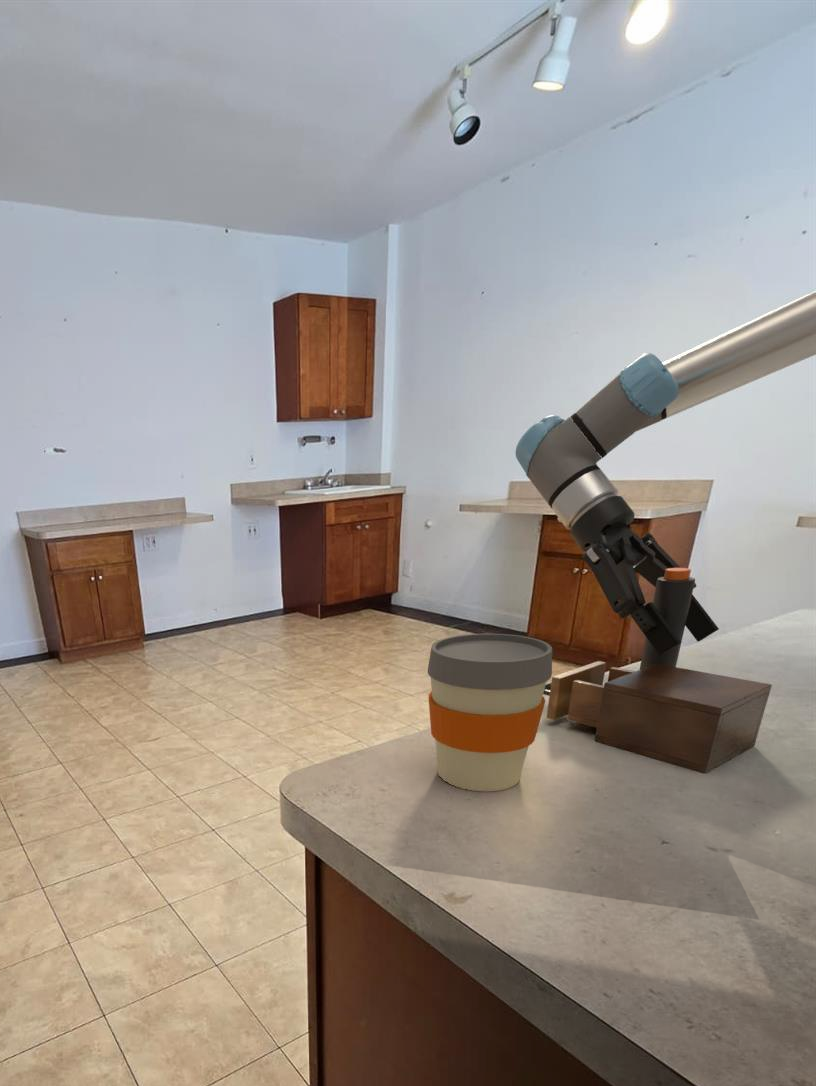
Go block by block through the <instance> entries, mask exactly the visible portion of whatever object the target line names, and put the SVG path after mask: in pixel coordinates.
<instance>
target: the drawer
mask: <svg viewBox="0 0 816 1086" xmlns="http://www.w3.org/2000/svg"><path fill="white" fill-rule="evenodd" d="M606 668H607V662H604V661H600V660H597V661H594V662H592V663H591V662H590V663H589V664H586V665H583V666H580V667H578V668H574V669H570V670H568V671H565V672H563V673H559V674H557V675H554V676H553V675H552V676H551V681H547V682H546V685H545V689H544V693H543V696H548V704H547V711H546V719H549V720H552V721H556V720H559V719H561V718H564V717H566V716H567V718H566V720H567V721H571V722H574V723H577V724H581V725H584V726H589V727H592V728H596V729H597V724H598V718H599V712H600V707H601V701H602V695H603V690H604V679H605V675H606V673H605V672H606ZM636 671H637V670H631V669H625V668H621V667H615V666H612V667H610V668H609V671H608V678H607V682H609V681H611V680H614V679H617V678H619V677H622V676H625V675H628V674H630V673H633V672H636Z"/></svg>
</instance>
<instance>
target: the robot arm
mask: <svg viewBox="0 0 816 1086" xmlns="http://www.w3.org/2000/svg"><path fill="white" fill-rule="evenodd" d="M813 356H816V290H813V291H812V292H809V293H808V294H805V295H804V296H801V297H799V298H797V299H795V300H793V301H791V302H789V303H787V304H785V305H783V306H780V307H778V308H776V309H774V310H772V311H770V312H768V313H765V314H764V315H761V316H759V317H757V318H754V319H753V320H751V321H749V322H747V323H744V324H742V325H740V326H738V327H736V328H733V329H731V330H729V331H727V332H725V333H723V334H721V335H718V336H717V337H714V338H713V339H710V340H708V341H706V342H703V343H702V344H700V345H698V346H695V347H693V348H692V349H689V350H687V351H685V352H683V353H681V354H678V355H677V356H674V357H672V358H670V359H668V360H666V361H661V359H659V357H657V356H656V355H655V354H654V353H651V352H647V353H643V354H641V355H640V356H639V357H637V358H636V359H635V360H634V361H633V362H632V363H630V364H629V365H627V366H626V367H624V368H623V369H622V370H621V371H620V372H619V373H618V374H617V375H616V376H615V377H613V378H612V379H611V380H610V381H609V382H608V383H607V384H606V385H604V386H603V388H601V389H600V390H599V391H597V392H596V394H594V396H592V397H591V398H590V399H589V400H588V401H587V402H586V403H584V405H582V406H581V407H580V408H579V409H578V410H577V411H575V412H574V413H572V414H571V415H570V416H568V417H567V418H566V419H564V418H562V417H561V416H559V415H557V414H555V415H554V414H553V415H552V414H551V415H547V416H546V417H544V418H542V419H541V420H540V421H538V422H536V423H534V424H533V425H531V426H530V427H529V428H528V429H527V430H526V431H525V432H524V434H523V435H522V436H521V437H520V439H519V441H518V442H517V444H516V447H515V451H514V452H515V457H516V461H517V462H518V463H519V465H520V466H521V468H522V469H523V471H524V473H525V476H526V477H527V478H528V479H529V480H530V482H531V483H532V485H533V486H534V487H535V489H536V490H537V491H538V493H539V494H540V495H541V497H542V498H543V499H544V500H545V502H546V503H547V504H548V506H549V507H550V508H551V510H553V512H554V514H555V515H556V517H557V521H558V522H559V523H562V525H563V526H564V527H565V529H566V530H570V532H569V535H570V536H571V538H572V539H573V540H574V541H575V543H576V545H577V546H578V547H579V549H580V550H581V551H582V552H584V553H583V554H582V555H581V558H582V559H583V561H584V563H586V565H587V566H588V567H589V568H590V569H591V571H592V573H593V575H594V577H595V578H596V581H597V583H598V584H599V586H600V589H601V590H602V591H603V594H604V596H605V598H606V600H607V601H608V604H609V605H610V607H611V609H612V611H613V612H614V613H615V614H618V616H619V618H621V619H622V620H624V619H626V618H628V617H629V616H630V617H631V618H632V620H633V621H634V622H635V624H636V625H637V626H638V628H639V629H640V631H641V632H642V633H643V635H644V636H645V638H646V637H647V639H648V640H649V641H650V643H651V644H652V646H653V647H654V648H655V650H656V651H657V652H658V654H659V655H663V654H664V653H666V652H667V651H669V650H671V649H672V648H674V647H675V646H677V645H678V644H680V643H681V644H682V643H683V641H682V642H681V641H680V640H679V638H678V637H677V636H676V634H675V633H674V632H673V630H672V629H671V628H670V626H669V625H668V624H667V622H666V621H665V619H664V618H663V617H662V615H661V614H660V613H659V611H658V610H657V609H656V607H655V606H654V605H653V601H650V602H647V603H646V598H645V596H644V593H643V589H642V587H641V585H640V582H639V579H638V577H637V574H639V575H640V576H641V577H642V578H643V579H644V580H646V581H647V582H648V583H649V584H651V585H652V586H653V587H654V588H656V584H657V579H658V578H660V577H664V575H665V570H666V569H668V568H682V567H681V566H680V565H679V564H678V563H677V562H676V561H675V560H674V559H673V558H672V557H671V556H670V554H668V552H667V551H665V550H664V548H662V546H660V545H659V542H658V541H657V540H656V538H655V537H654V535H653V534H651V532H647V533H645V534H644V535H643V536H642V537H640V536H639V534H637V533H636V532H635V531H633V529H631V524H632V522H633V521H634V519H635V516H636V515H635V512H634V510H633V509H632V508H631V507H630V505H629V504H628V502H627V501H626V500H625V498H624V497H623V496H622V495H618V494H619V491H618V489H617V488H616V486H615V485H614V484H613V482H612V481H611V480H610V479H609V478H608V476H607V475H606V474H605V472H604V471H603V470H602V469H601V468H600V466H599V465H598V464H597V463H598V462H599V461H601V460H602V459H603V458H605V457H606V456H607V455H608V454H609V453H610V452H612V451H613V450H614V449H616V448H617V447H618V446H619V445H621V444H622V443H624V442H625V441H626V440H627V439H628V438H630V437H631V436H633V435H634V434H635V433H636V432H639V431H641V430H643V429H645V428H648V427H649V426H652V425H655V424H658V423H659V422H661V421H663V420H665V419H668V418H671V417H673V416H675V415H678V414H680V413H683V412H685V411H687V410H689V409H692V408H694V407H697V406H698V405H701V404H703V403H705V402H708V401H710V400H713V399H715V398H717V397H719V396H722V395H724V394H727V393H729V392H731V391H734V390H736V389H738V388H741V387H743V386H746V385H747V384H750V383H752V382H755V381H757V380H760V379H762V378H764V377H767V376H769V375H771V374H775V373H776V372H778V371H781V370H783V369H785V368H788V367H790V366H793V365H795V364H797V363H800V362H801V361H805V360H806V359H809V358H812V357H813ZM696 587H697V584H696V582H695V583H694V588H693V590H694V589H696ZM685 628H686V629H687V630H688V631H689V632H690V634H691V635H692V636H693V638H694V640H696V642H701V641H703V640H704V639H706V638H708V637H709V636H710V635H712V634H714V633H715V632H717V631H719V630H720V628H719V627H718V625H717V624H716V623H715V622H714V620H713V619H712V618H711V616H710V615H709V614H708V612H707V611H706V610H705V609H704V607H703V606H702V605H701V603H700V602H699V601H698V599H697V598H696V597H695V596H694V594H693V593H692V597H691V601H690V606H689V610H688V615H687V619H686V624H685Z"/></svg>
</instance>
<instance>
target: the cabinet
mask: <svg viewBox="0 0 816 1086" xmlns="http://www.w3.org/2000/svg"><path fill="white" fill-rule="evenodd" d="M635 671H636V672H633V673H630V674H628V675H625V676H622V677H619V678H617V679H614V680H611V681H609V682H608V681H606V682H604V683H603V686H604V690H603V695H602V701H601V707H600V712H599V718H598V724H597V728H596V729H595V730H596V731H595V736H594V741H595V742H598V743H601V744H605V745H608V746H611V747H615V748H617V749H620V750H621V749H622V750H625V751H627V752H631V753H634V754H638V755H642V756H645V757H647V758H652V759H655V760H658V761H662V762H666V763H668V764H672V765H674V766H675V765H676V766H678V767H681V768H685V769H689V770H693V771H696V772H699V773H703V774H706V773H708V772H709V771H712V770H714V769H716V768H717V767H720V766H721V765H722V764H724V763H726V762H728V761H730V760H732V759H733V758H735V757H737V756H739V755H741V754H742V753H744V752H746V751H748V750H750V749H751V748H753V747H755V746H756V741H757V739H758V734H759V731H760V727H761V725H762V721H763V717H764V714H765V710H766V708H767V705H768V704H767V703H768V700H769V696H770V693H771V690H772V686H773V684H771V683H765V682H760V681H753V680H748V679H743V678H738V677H732V676H727V675H721V674H716V673H712V672H711V673H710V672H705V671H700V670H693V669H688V668H683V667H677V666H676V667H672V666H666V665H661V664H654V665H652V666H649V667H646V668H644V669H641V670H640V669H638V670H635Z"/></svg>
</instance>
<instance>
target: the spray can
mask: <svg viewBox="0 0 816 1086" xmlns="http://www.w3.org/2000/svg"><path fill="white" fill-rule="evenodd" d="M691 573H692V569H691V568H688V567H681V568H668V569H666V570H665V575H664V577H660V578H658V579H657V584H656V587H655V589H654V594H653V598H652V599H653V600H652V603H653V605H654V606H655V607H656V609H657V610H658V611H659V613H660V614H661V615H662V617H663V618H664V619H665V621H666V622H667V624H668V625H669V626H670V628H671V629H672V630H673V632H674V633H675V634H676V636H677V637H678V638H679V640H680V641H681V642H682V643H683V637H684V632H685V629H686V626H685V624H686V619H687V615H688V610H689V606H690V601H691V597H692V594H693V592H694V589H695V588H694V583H696V578H694V577H691ZM693 588H694V589H693ZM682 643H680V644H678V645H677V646H675V647H674V648H672V649H671V650H669V651H667V652H666V653H664V654H663V655H659V654H658V652H657V651H656V650H655V648H654V647H653V646H652V644H651V643H650V641H649V640H648V639H647V637H646V636H645V640H644V645H643V649H642V656H641V660H640V665H639V670H641V669H644V668H646V667H649V666H652V665H654V664H661V665H666V666H672V667H677V664H678V659H679V654H680V652H681V651H680V650H681V645H682Z"/></svg>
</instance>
